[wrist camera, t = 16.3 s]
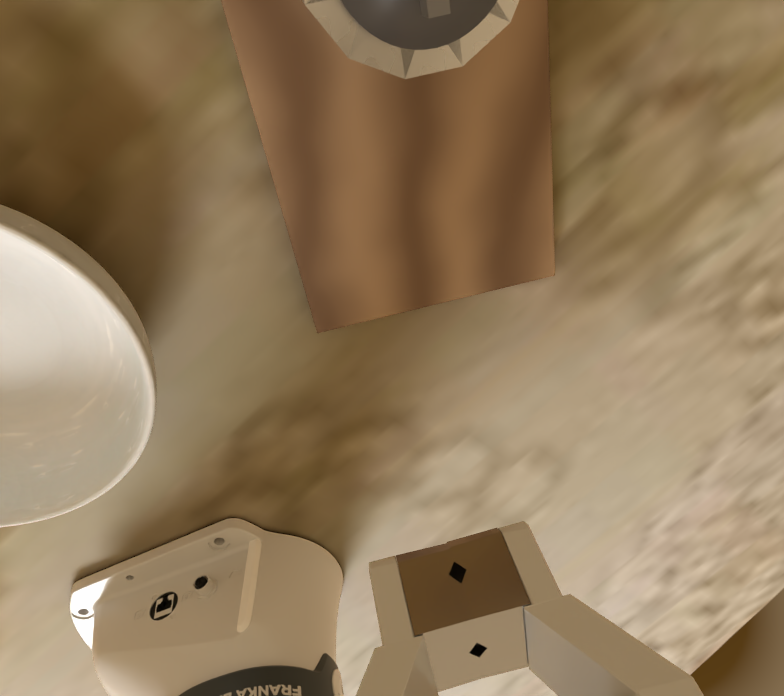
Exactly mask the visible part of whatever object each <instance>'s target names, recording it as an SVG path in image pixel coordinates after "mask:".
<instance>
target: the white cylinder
mask: <svg viewBox="0 0 784 696" xmlns="http://www.w3.org/2000/svg"><path fill="white" fill-rule="evenodd" d="M302 2H303V3H304V4H305V6H306V7H307V8H308V9H309V11H310V12H311V13H312V14H313V15H314V17H315V18H316V19H317V20H318V22H319V23H320V24H321V25H322V27H323V28H324V29H325V30H326V31H327V33H328V34H329V35H330V36H331V38H332V39H333V40H334V41H335V42H336V44H337V45H338V46H339V47H340V49H341V50H342V51H343V52H344V53H345V55H346V56H347V57H348V58H349V59H352V60H354V61H357V62H360V63H362V64H365V65H368V66H371V67H373V68H376V69H379V70H381V71H384V72H387V73H390V74H392V75H395V76H398V77H400V78H403V79H408V78H413V77H417V76H422V75H426V74H431V73H435V72H440V71H444V70H449V69H453V68H457V67H462V66H464V65H465V64H466V63H467V62H468V61H469V60H470V59H471V58H472V57H473V56H475V55H476V54H477V53H478V52H479V51H480V50H481V49H482V48H483V47H484V46H485V45H487V44H488V43H489V42H490V41H491V40H492V39H493V38H494V37H495V36H496V35H497V34H498V33H500V32H501V31H502V30H503V29H504V28H505V27H506V26H507V25H508V24H509V23H510V22H511V20H512V17H513V15H514V12H515V10H516V7H517V5H518V2H519V0H497V2H496V4H495V5H494V7H493V8H492V9H491V11H490V12H489V13H488V15H487V16H486V17H485V18H484V19H483V20H482V21H481V22H480V24H479V25H477V26H476V27H475V28H474V29H473V30H472V31H470V32H469V33H468V34H466V35H465V36H463V37H462V38H460V39H458V40H456V41H454V42H452V43H450V44H448V45H444V46H441V47H438V48H433V49H427V50H411V49H404V48H400V47H396V46H393V45H390V44H388V43H386V42H384V41H381V40H380V39H378V38H377V37H375V36H373V35H372V34H370V33H369V32H368V31H367V30H365V29H364V28H363V27H362V26H361V25H360V24H358V23H357V22H356V21H355V20H354V18H353V17H352V16H351V15H350V14H349V13H348V11H347V10H346V8H345V7H344V6H343V4H342V3H341V1H340V0H302Z"/></svg>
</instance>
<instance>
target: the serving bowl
mask: <svg viewBox="0 0 784 696" xmlns="http://www.w3.org/2000/svg"><path fill="white" fill-rule="evenodd" d="M156 392H157V389H156V372H155V365H154V359H153V354H152V350H151V347H150V343H149V340H148V337H147V334H146V332H145V329H144V327H143V324H142V322H141V320H140V318H139V316H138V314H137V312H136V310H135V309H134V307H133V305H132V304H131V302H130V300H129V299H128V297H127V296H126V295H125V293H124V292H123V291H122V289H121V288H120V287H119V285H118V284H117V283H116V282H115V280H114V279H113V278H112V277H111V276H110V275H109V274H108V273H107V271H106V270H105V269H104V268H103V267H102V266H101V265H100V264H98V263H97V262H96V261H95V260H94V259H93V258H92V257H91V256H90V255H89V254H87V253H86V252H85V251H84V250H82V249H81V248H80V247H79V246H77V245H76V244H75V243H73V242H72V241H70V240H69V239H68V238H66V237H65V236H63V235H62V234H60V233H58V232H57V231H55V230H54V229H52V228H50V227H49V226H47V225H45V224H43V223H41V222H39V221H38V220H36V219H34V218H32V217H30V216H28V215H25V214H23V213H21V212H19V211H16V210H14V209H11V208H9V207H6V206H3V205H1V204H0V527H6V526H15V525H22V524H27V523H32V522H37V521H41V520H45V519H49V518H52V517H55V516H58V515H61V514H64V513H67V512H70V511H72V510H74V509H77V508H79V507H81V506H83V505H85V504H87V503H89V502H91V501H92V500H94V499H96V498H98V497H99V496H101V495H102V494H104V493H105V492H107V491H108V490H110V489H111V488H112V487H113V486H115V485H116V484H117V483H118V482H119V481H120V480H121V479H122V478H123V477H124V476H125V475H126V474H127V473H128V472H129V471H130V470H131V469H132V467H133V466H134V465H135V463H136V462H137V460H138V459H139V457H140V456H141V454H142V452H143V451H144V449H145V447H146V445H147V443H148V440H149V437H150V435H151V432H152V428H153V424H154V419H155V413H156Z"/></svg>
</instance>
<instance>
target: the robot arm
mask: <svg viewBox="0 0 784 696" xmlns="http://www.w3.org/2000/svg"><path fill="white" fill-rule="evenodd" d="M396 558H397V560H396ZM369 573H370V579H371V584H372V590H373V595H374V601H375V606H376V612H377V617H378V623H379V628H380V634H381V639H382V645H383V646H381V647H378V648H375V649H374V652H373V654H372V657H371V659H370V662H369V664H368V667H367V669H366V672H365V674H364V677H363V679H362V682H361V684H360V687H359V689H358V692H357V694H356V696H439V695H438V692H440V691H443V690H446V689H449V688H453V687H456V686H459V685H462V684H465V683H469V682H472V681H475V680H478V679H481V678H485V677H489V676H493V675H497V674H501V673H505V672H509V671H513V670H517V669H521V668H525V667H528V666H529V669H530V670H531V671H532V672H533V673H534V674H535V675H536V676H537V677H538V678H540V679H541V680H542V681H543V682H544V683H545V684H546V685H547V686H548V687H549V688H550V689H551V690H553V691H554V692H555V693H556V694H557V695H558V696H704V695H703V694H702V692H701V690H700V689H699V687H698V685H697V684H696V682H695V680H694V679H693V677H692V676H690V675H689V674H687V673H686V672H684V671H683V670H681V669H680V668H678V667H677V666H675V665H674V664H672V663H671V662H670V661H668V660H667V659H665V658H664V657H662V656H661V655H659V654H658V653H656V652H655V651H653V650H652V649H650V648H649V647H647V646H646V645H644V644H643V643H642V642H640V641H639V640H637V639H636V638H634V637H633V636H631V635H630V634H628V633H627V632H625V631H624V630H622V629H621V628H619V627H618V626H616V625H615V624H614V623H612V622H611V621H609V620H608V619H606V618H605V617H603V616H602V615H600V614H599V613H597V612H596V611H594V610H593V609H591V608H590V607H588V606H587V605H586V604H584V603H583V602H581V601H580V600H578V599H577V598H575V597H574V596H572V595H571V594H569V595H565V596H562V594H561V592H560V590H559V588H558V586H557V584H556V582H555V579H554V577H553V575H552V573H551V571H550V569H549V567H548V565H547V563H546V561H545V559H544V557H543V554H542V552H541V550H540V548H539V546H538V544H537V542H536V540H535V538H534V536H533V534H532V532H531V529H530V527H529V525H528V524H527V523H525V522H524V521H522V522H519V523H515V524H512V525H508V526H505V527H501V528H498V529H497V528H494V529H491V530H487V531H484V532H480V533H477V534H473V535H470V536H466V537H463V538H459V539H456V540H452V541H449V542H447V543H446V544H442V545H438V546H433V547H429V548H425V549H421V550H417V551H413V552H409V553H404V554H400V555H396V556H392V557H388V558H384V559H381V560H377V561H373V562H369ZM342 587H343V574H342V570H341V568H340V565H339V564H338V562H337V561H336V559H335V558H334V557H333V556H332V555H331V554H330V553H329V552H328V551H327V550H325V549H324V548H322V547H321V546H319V545H317V544H315V543H313V542H311V541H309V540H306V539H303V538H300V537H296V536H291V535H286V534H279V533H273V532H269V531H265V530H263V529H261V528H259V527H257V526H255V525H253V524H252V523H249V522H247V521H245V520H242V519H238V518H230V519H225V520H223V521H220V522H218V523H215V524H213V525H211V526H208V527H206V528H203V529H201V530H199V531H196V532H194V533H191V534H189V535H186V536H184V537H182V538H179V539H177V540H174V541H172V542H170V543H167V544H165V545H162V546H160V547H157V548H155V549H153V550H150V551H148V552H145V553H143V554H141V555H138V556H136V557H133V558H131V559H128V560H126V561H124V562H121V563H119V564H116V565H114V566H112V567H109V568H107V569H104V570H102V571H99V572H97V573H95V574H92V575H90V576H88V577H85V578H83V579H81V580H79V581H77V582H75V583H74V584H73V587H72V590H71V596H70V603H69V609H70V615H71V618H72V621H73V624H74V626H75V628H76V630H77V631H78V633H79V635H80V636H81V637H82V639H83V640H84V642H85V643H86V644H87V645H88V646H89V648H90V649H91V650H92V654H93V663H94V667H95V671H96V674H97V676H98V679H99V681H100V683H101V685H102V686H103V688H104V690H105V691H106V692H107V694H108V695H109V696H344V694H343V687H342V679H341V674H340V672H339V670H338V667H337V665H336V629H337V616H338V608H339V601H340V596H341V592H342Z"/></svg>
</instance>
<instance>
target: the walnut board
mask: <svg viewBox="0 0 784 696" xmlns="http://www.w3.org/2000/svg"><path fill="white" fill-rule="evenodd" d="M221 2H222V5H223V9H224V12H225V16H226V19H227V23H228V26H229V30H230V33H231V36H232V40H233V43H234V47H235V50H236V54H237V57H238V61H239V64H240V68H241V71H242V74H243V78H244V81H245V85H246V88H247V92H248V95H249V99H250V102H251V106H252V109H253V112H254V116H255V119H256V123H257V126H258V130H259V133H260V137H261V140H262V144H263V147H264V151H265V154H266V157H267V161H268V164H269V168H270V171H271V175H272V178H273V182H274V185H275V189H276V192H277V195H278V199H279V202H280V206H281V209H282V213H283V216H284V220H285V223H286V227H287V230H288V233H289V237H290V240H291V244H292V247H293V251H294V254H295V258H296V261H297V265H298V268H299V271H300V275H301V278H302V282H303V285H304V289H305V292H306V296H307V299H308V303H309V306H310V309H311V313H312V316H313V320H314V323H315V327H316V330H317V333H320V332H324V331H328V330H332V329H337V328H341V327H345V326H349V325H353V324H357V323H361V322H365V321H369V320H373V319H378V318H382V317H386V316H390V315H394V314H398V313H402V312H406V311H410V310H415V309H419V308H423V307H427V306H431V305H435V304H439V303H443V302H447V301H451V300H456V299H460V298H464V297H468V296H472V295H476V294H480V293H484V292H488V291H492V290H497V289H501V288H505V287H509V286H513V285H517V284H521V283H525V282H529V281H534V280H538V279H542V278H546V277H550V276H554V275H555V258H554V220H553V183H552V145H551V107H550V70H549V32H548V0H519V2H518V5H517V7H516V10H515V12H514V15H513V17H512V20H511V22H510V23H509V24H508V25H507V26H506V27H505V28H504V29H503V30H502V31H501V32H500V33H498V34H497V35H496V36H495V37H494V38H493V39H492V40H491V41H490V42H489V43H488V44H487V45H485V46H484V47H483V48H482V49H481V50H480V51H479V52H478V53H477V54H476V55H475V56H473V57H472V58H471V59H470V60H469V61H468V62H467V63H466V64H465V65H464V66H462V67H457V68H453V69H449V70H444V71H440V72H435V73H431V74H426V75H422V76H417V77H413V78H408V79H403V78H400V77H398V76H395V75H392V74H390V73H387V72H384V71H381V70H379V69H376V68H373V67H371V66H368V65H365V64H362V63H360V62H357V61H354V60H352V59H349V58H348V57H347V56H346V55H345V53H344V52H343V51H342V50H341V49H340V47H339V46H338V45H337V44H336V42H335V41H334V40H333V39H332V38H331V36H330V35H329V34H328V33H327V31H326V30H325V29H324V28H323V27H322V25H321V24H320V23H319V22H318V20H317V19H316V18H315V17H314V15H313V14H312V13H311V12H310V11H309V9H308V8H307V7H306V6H305V4H304V3H303V2H302V0H221Z"/></svg>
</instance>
